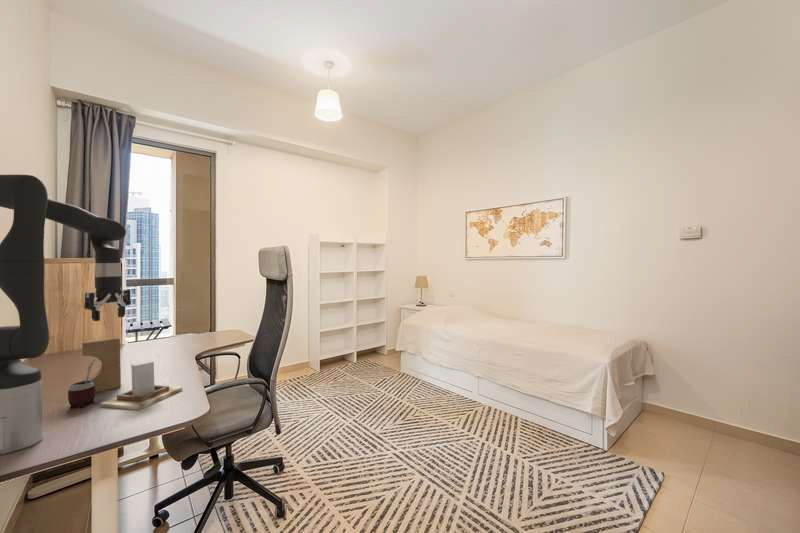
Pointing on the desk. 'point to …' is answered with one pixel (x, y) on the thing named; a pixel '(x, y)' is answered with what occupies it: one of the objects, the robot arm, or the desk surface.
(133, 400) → the tan wooden flat frame
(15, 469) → the desk surface
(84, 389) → the mate gourd
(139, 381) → the skincare box
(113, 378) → the decorative block
